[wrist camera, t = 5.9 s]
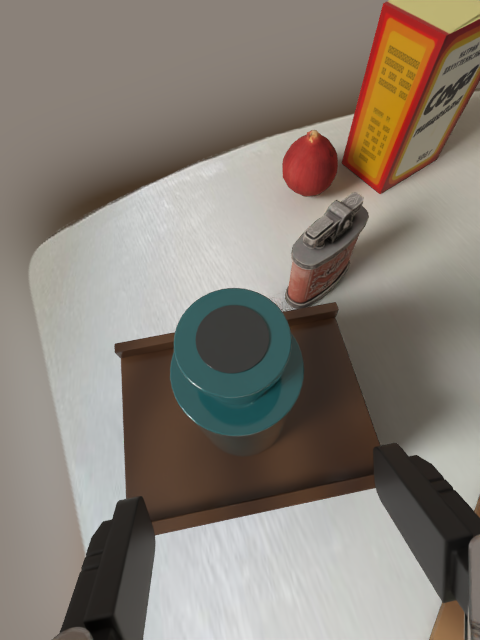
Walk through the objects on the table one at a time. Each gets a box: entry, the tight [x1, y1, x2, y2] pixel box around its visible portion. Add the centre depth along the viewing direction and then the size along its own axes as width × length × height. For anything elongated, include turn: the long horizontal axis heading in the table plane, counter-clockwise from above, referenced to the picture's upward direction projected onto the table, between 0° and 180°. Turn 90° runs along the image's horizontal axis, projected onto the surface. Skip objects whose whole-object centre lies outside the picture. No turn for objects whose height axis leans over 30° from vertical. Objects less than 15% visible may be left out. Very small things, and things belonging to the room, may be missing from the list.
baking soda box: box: [342, 0, 480, 194], centre depth 35 cm, size 10×6×16 cm
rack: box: [115, 302, 380, 535], centre depth 26 cm, size 16×12×8 cm
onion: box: [282, 130, 338, 196], centre depth 37 cm, size 6×6×8 cm
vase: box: [170, 288, 304, 456], centre depth 18 cm, size 6×6×12 cm
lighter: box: [285, 193, 369, 309], centre depth 31 cm, size 8×3×10 cm, turn 133°
